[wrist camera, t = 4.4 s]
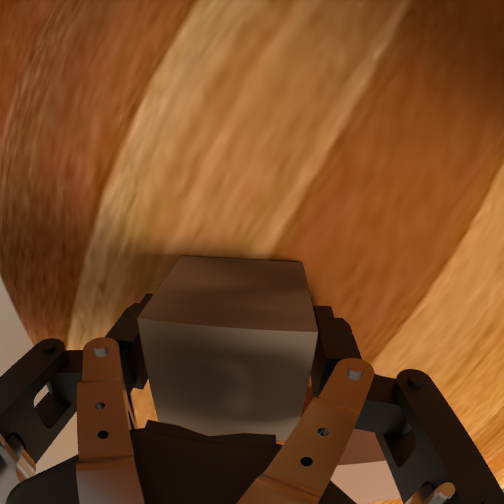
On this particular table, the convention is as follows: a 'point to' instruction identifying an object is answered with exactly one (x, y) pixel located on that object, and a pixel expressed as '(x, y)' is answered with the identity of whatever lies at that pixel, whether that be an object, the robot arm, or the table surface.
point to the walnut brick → (230, 345)
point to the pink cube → (364, 470)
